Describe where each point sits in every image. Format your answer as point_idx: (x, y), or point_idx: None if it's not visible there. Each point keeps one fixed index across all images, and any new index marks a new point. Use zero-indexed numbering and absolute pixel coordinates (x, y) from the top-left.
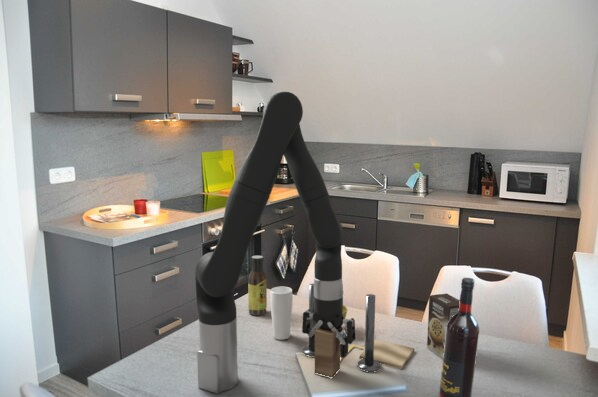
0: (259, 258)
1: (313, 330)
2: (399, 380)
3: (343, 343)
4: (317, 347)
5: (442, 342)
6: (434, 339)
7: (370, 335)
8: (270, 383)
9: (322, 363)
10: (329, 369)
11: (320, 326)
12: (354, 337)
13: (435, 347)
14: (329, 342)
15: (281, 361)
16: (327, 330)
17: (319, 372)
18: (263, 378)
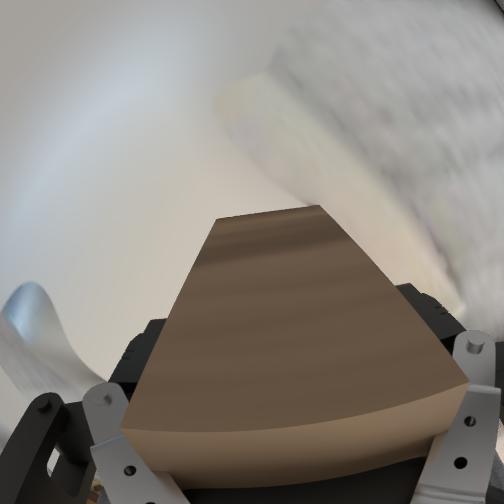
0: None
1: (478, 388)
2: (46, 354)
3: (95, 389)
4: (346, 269)
5: None
6: (94, 501)
7: (101, 494)
8: (426, 27)
9: (277, 231)
10: (225, 230)
11: (413, 489)
12: (62, 457)
13: (94, 485)
14: (194, 338)
15: (488, 213)
16: (288, 483)
17: (292, 212)
18: (467, 53)
